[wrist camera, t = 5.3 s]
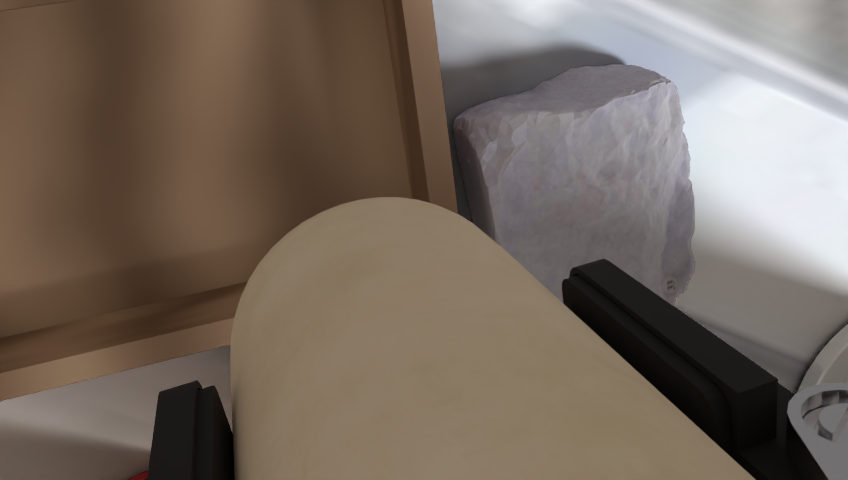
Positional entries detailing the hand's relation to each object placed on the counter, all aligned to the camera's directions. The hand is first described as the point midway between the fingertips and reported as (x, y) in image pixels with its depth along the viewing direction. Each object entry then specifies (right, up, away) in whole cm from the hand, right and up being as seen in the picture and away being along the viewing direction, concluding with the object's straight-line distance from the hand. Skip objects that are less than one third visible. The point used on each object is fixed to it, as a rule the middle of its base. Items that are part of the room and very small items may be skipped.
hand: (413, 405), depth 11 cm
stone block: (+7, +4, +21) cm, 22 cm away
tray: (-11, +6, +15) cm, 19 cm away
